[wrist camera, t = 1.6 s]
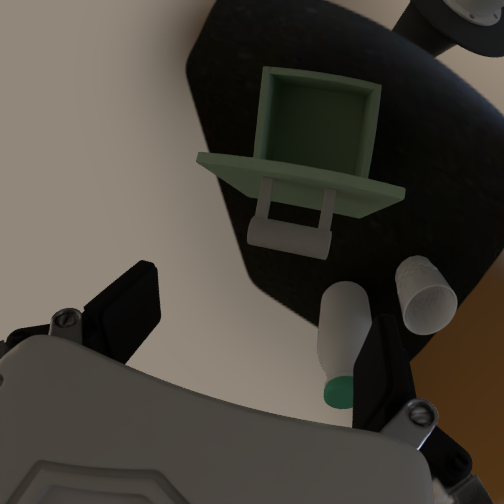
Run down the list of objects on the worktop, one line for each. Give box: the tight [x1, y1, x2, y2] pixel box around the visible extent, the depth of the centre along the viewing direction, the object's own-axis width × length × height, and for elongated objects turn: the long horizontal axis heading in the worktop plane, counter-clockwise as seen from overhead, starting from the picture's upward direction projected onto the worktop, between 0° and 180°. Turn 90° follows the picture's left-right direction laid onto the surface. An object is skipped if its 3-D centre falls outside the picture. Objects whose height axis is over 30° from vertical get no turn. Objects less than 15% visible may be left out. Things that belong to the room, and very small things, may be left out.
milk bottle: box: [317, 281, 372, 409], centre depth 36 cm, size 8×8×20 cm
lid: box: [196, 152, 405, 260], centre depth 23 cm, size 15×13×5 cm
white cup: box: [395, 255, 457, 335], centre depth 35 cm, size 8×8×10 cm
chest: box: [253, 67, 382, 179], centre depth 32 cm, size 15×13×9 cm
